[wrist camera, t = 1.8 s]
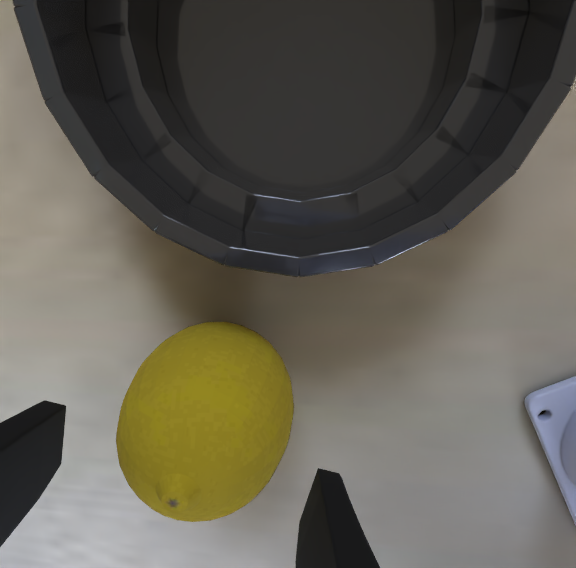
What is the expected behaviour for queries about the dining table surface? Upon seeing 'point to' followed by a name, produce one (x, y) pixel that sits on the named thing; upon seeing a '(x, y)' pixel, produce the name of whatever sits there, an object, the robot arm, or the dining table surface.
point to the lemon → (205, 422)
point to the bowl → (301, 115)
